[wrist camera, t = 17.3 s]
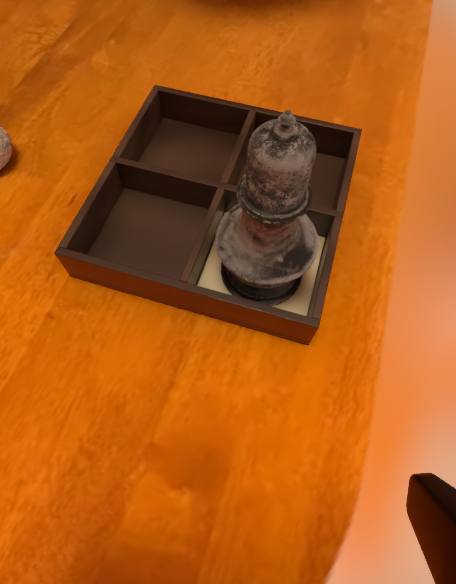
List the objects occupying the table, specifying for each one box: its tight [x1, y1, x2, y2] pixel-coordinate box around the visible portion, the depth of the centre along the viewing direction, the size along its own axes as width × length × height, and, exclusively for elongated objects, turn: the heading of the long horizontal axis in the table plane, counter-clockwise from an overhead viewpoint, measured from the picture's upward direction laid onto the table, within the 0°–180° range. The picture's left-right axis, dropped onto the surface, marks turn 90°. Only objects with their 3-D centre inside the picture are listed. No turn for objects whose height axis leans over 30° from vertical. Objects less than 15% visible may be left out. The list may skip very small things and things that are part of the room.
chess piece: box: [215, 110, 319, 306], centre depth 20 cm, size 6×6×12 cm
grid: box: [55, 85, 362, 345], centre depth 27 cm, size 16×16×3 cm
